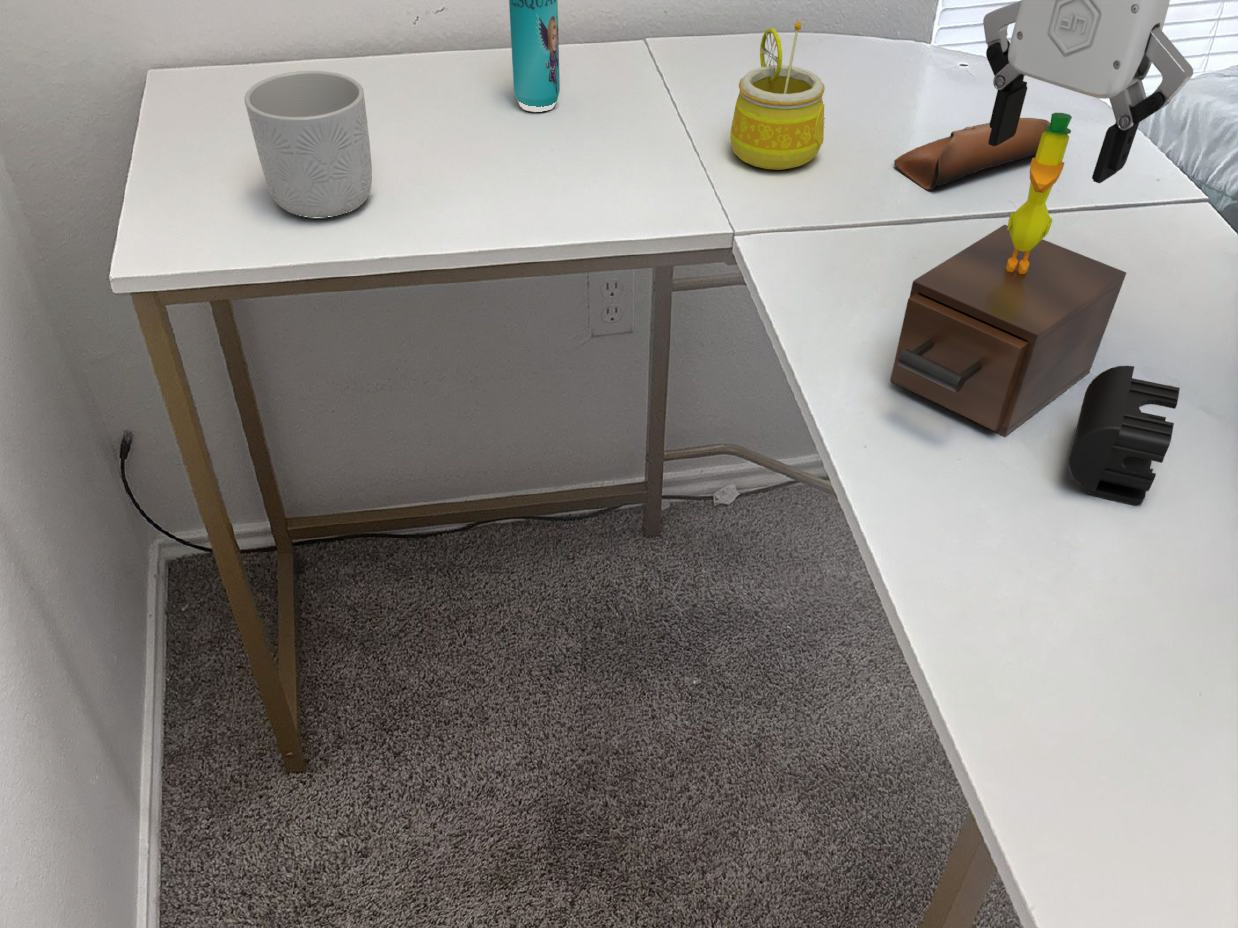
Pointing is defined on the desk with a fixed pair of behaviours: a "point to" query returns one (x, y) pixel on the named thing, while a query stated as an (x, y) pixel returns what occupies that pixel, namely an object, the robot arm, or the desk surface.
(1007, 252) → the cabinet
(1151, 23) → the robot arm
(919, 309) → the drawer
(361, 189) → the planter
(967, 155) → the sunglasses case
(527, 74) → the beverage can
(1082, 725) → the desk surface
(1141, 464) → the end cap
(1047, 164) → the toy figure
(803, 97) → the yellow patterned pot
